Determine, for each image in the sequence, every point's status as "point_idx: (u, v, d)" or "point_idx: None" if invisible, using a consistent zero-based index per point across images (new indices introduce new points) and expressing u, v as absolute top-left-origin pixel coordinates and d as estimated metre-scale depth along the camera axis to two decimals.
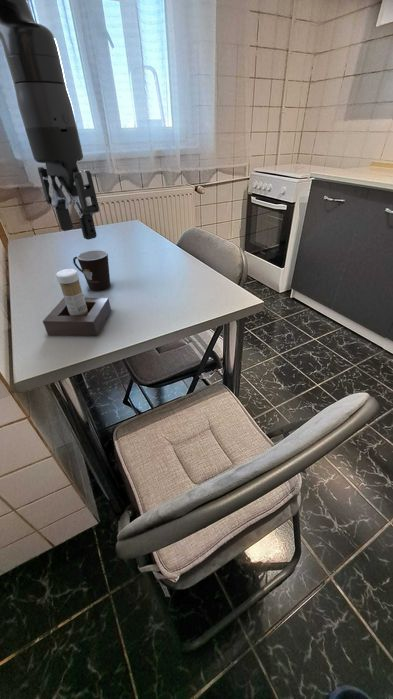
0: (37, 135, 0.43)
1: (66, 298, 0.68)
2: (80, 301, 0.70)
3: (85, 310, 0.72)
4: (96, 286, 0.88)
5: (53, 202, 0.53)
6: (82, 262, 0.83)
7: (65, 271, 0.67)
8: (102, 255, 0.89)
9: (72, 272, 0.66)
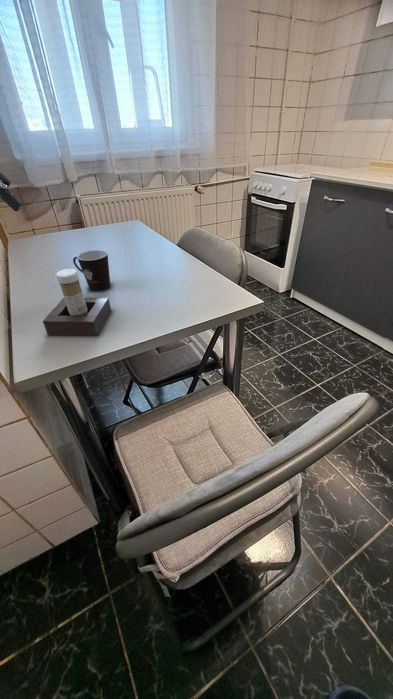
0: None
1: (66, 298, 0.68)
2: (80, 301, 0.70)
3: (85, 310, 0.72)
4: (96, 286, 0.88)
5: None
6: (82, 262, 0.83)
7: (65, 271, 0.67)
8: (102, 255, 0.89)
9: (72, 272, 0.66)
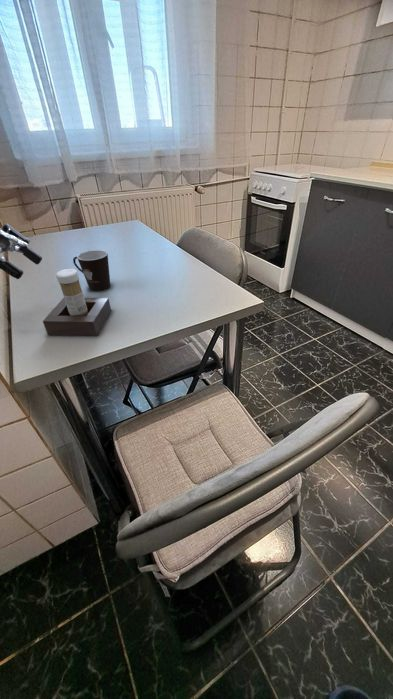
0: None
1: (66, 298, 0.68)
2: (80, 301, 0.70)
3: (85, 310, 0.72)
4: (96, 286, 0.88)
5: (0, 255, 0.61)
6: (82, 262, 0.83)
7: (65, 271, 0.67)
8: (102, 255, 0.89)
9: (72, 272, 0.66)
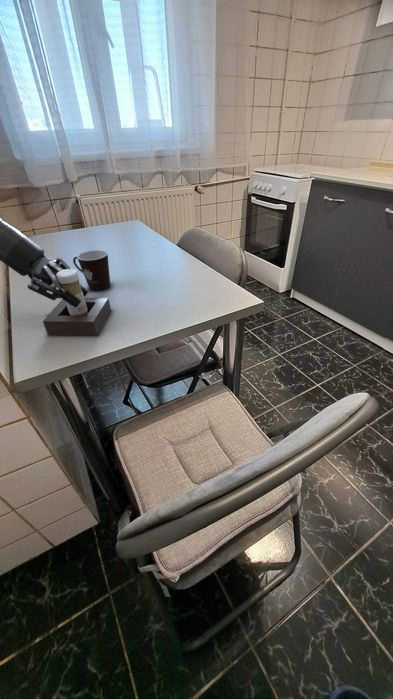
0: (30, 240, 0.64)
1: None
2: None
3: (85, 310, 0.72)
4: (96, 286, 0.88)
5: (61, 286, 0.66)
6: (82, 262, 0.83)
7: (65, 271, 0.67)
8: (102, 255, 0.89)
9: (72, 272, 0.66)
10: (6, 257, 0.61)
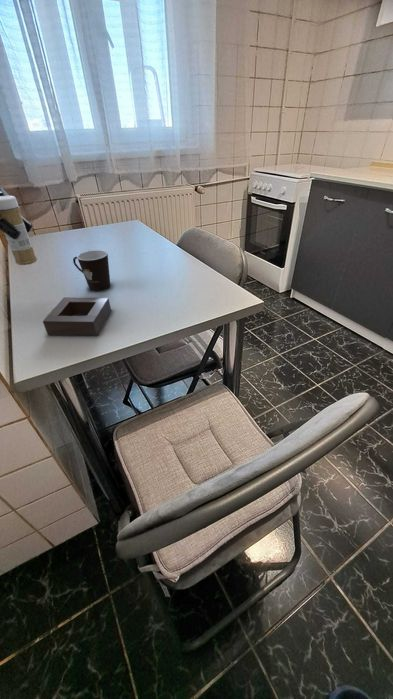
0: None
1: None
2: (21, 234, 0.62)
3: (28, 246, 0.65)
4: (96, 286, 0.88)
5: None
6: (82, 262, 0.83)
7: (2, 197, 0.60)
8: (102, 255, 0.89)
9: (9, 197, 0.59)
10: None
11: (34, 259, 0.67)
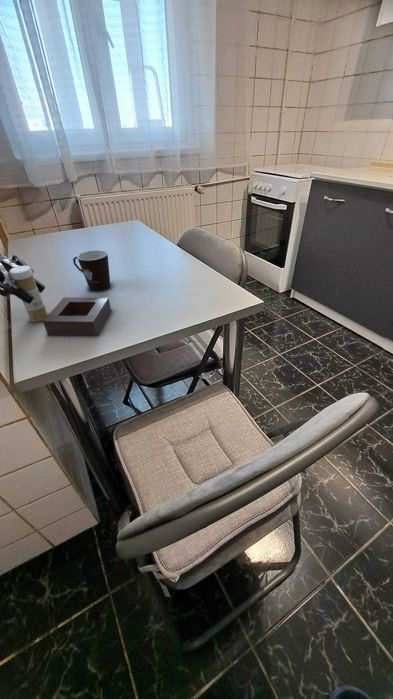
0: None
1: None
2: (35, 297, 0.72)
3: (41, 306, 0.74)
4: (96, 286, 0.88)
5: (13, 283, 0.68)
6: (82, 262, 0.83)
7: (18, 268, 0.69)
8: (102, 255, 0.89)
9: (25, 269, 0.69)
10: None
11: (45, 316, 0.76)
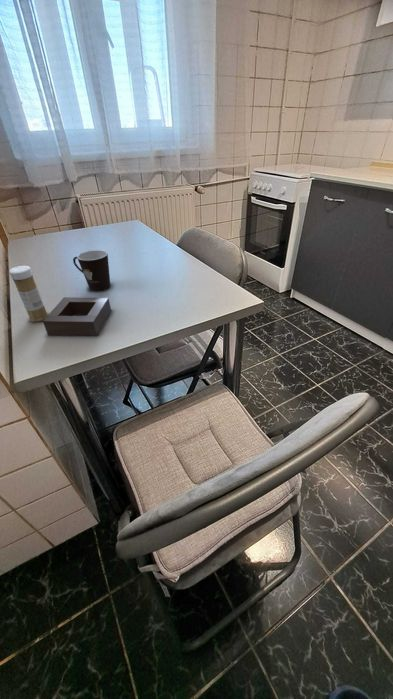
0: None
1: (20, 294, 0.71)
2: (35, 297, 0.72)
3: (41, 306, 0.74)
4: (96, 286, 0.88)
5: None
6: (82, 262, 0.83)
7: (18, 268, 0.69)
8: (102, 255, 0.89)
9: (25, 269, 0.69)
10: None
11: (45, 316, 0.76)
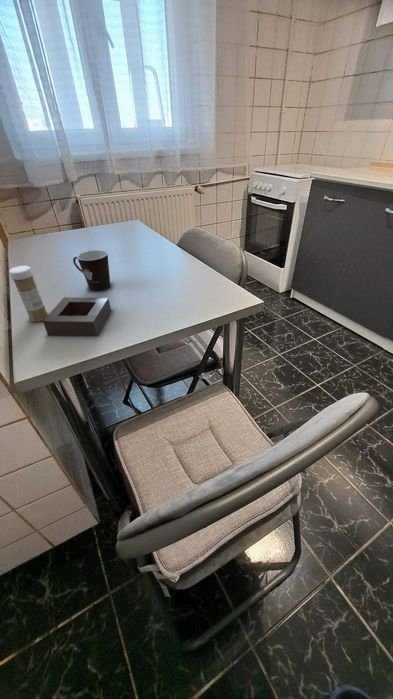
0: None
1: (20, 294, 0.71)
2: (35, 297, 0.72)
3: (41, 306, 0.74)
4: (96, 286, 0.88)
5: None
6: (82, 262, 0.83)
7: (18, 268, 0.69)
8: (102, 255, 0.89)
9: (25, 269, 0.69)
10: None
11: (45, 316, 0.76)
